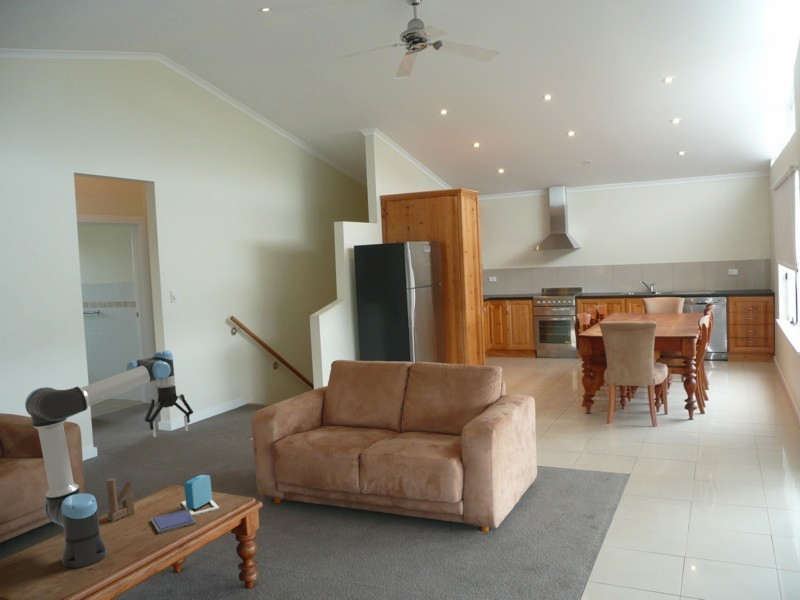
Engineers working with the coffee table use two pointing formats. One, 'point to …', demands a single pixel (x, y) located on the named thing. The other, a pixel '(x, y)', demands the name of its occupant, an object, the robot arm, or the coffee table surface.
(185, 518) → the ink pad
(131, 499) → the brown wooden mallet
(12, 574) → the coffee table surface
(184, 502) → the frame
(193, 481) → the data package
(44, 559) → the coffee table surface
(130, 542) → the coffee table surface
